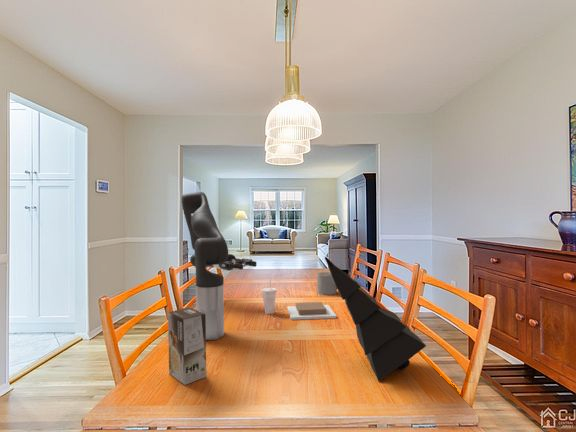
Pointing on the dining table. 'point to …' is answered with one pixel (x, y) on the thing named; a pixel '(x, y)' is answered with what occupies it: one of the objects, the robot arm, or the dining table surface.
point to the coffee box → (187, 345)
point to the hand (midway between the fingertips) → (249, 265)
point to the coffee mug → (326, 284)
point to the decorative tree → (376, 327)
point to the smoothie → (269, 299)
